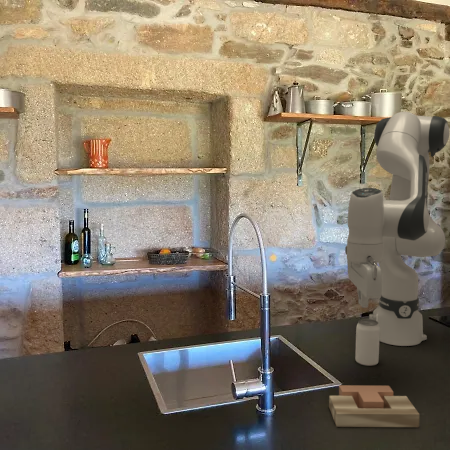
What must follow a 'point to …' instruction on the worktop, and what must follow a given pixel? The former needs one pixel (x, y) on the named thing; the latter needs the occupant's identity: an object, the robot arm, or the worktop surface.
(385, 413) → the dock
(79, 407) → the worktop surface
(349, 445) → the worktop surface
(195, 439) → the worktop surface
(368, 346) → the can
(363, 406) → the t block
